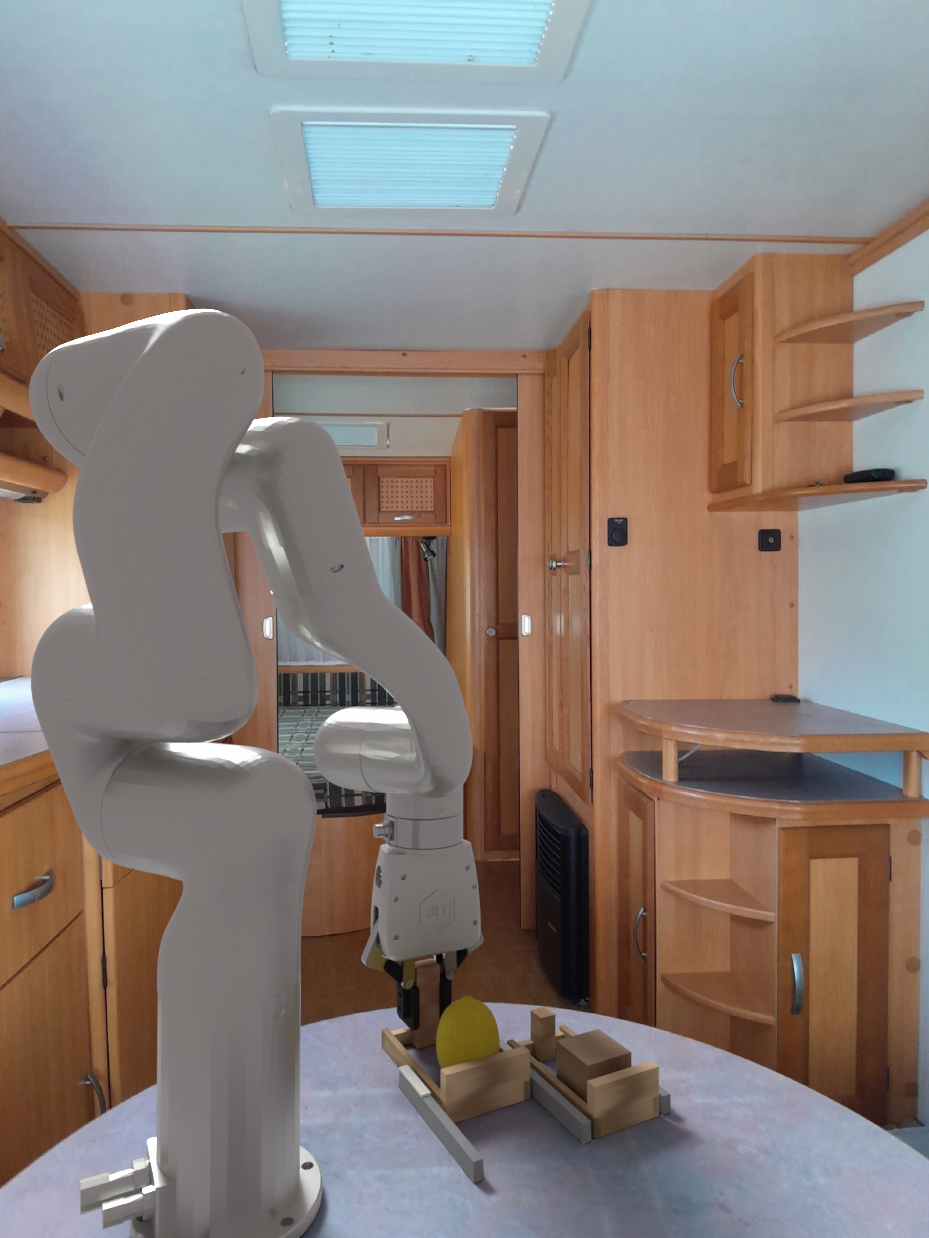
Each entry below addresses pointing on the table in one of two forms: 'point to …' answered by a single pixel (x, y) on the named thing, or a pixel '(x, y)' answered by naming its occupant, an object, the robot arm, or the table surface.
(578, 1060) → the walnut cube
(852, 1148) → the table surface
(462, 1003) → the lemon
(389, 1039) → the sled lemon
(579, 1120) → the lane rails
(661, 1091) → the rail right
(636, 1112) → the cube
